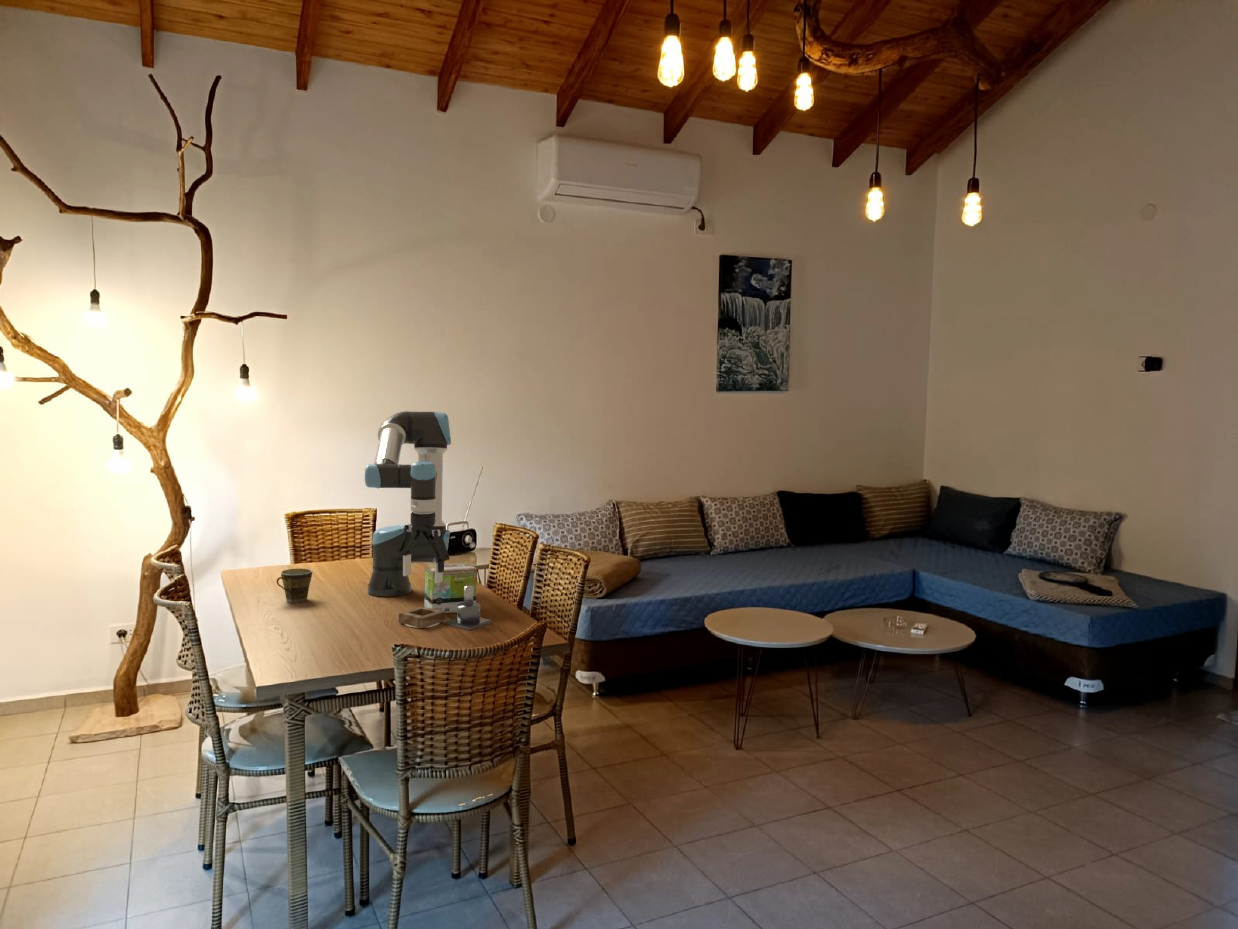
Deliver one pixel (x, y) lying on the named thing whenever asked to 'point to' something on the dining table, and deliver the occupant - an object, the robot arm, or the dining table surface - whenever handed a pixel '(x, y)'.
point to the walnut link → (421, 617)
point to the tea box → (449, 586)
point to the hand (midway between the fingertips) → (422, 578)
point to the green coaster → (419, 627)
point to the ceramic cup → (296, 584)
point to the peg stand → (468, 613)
